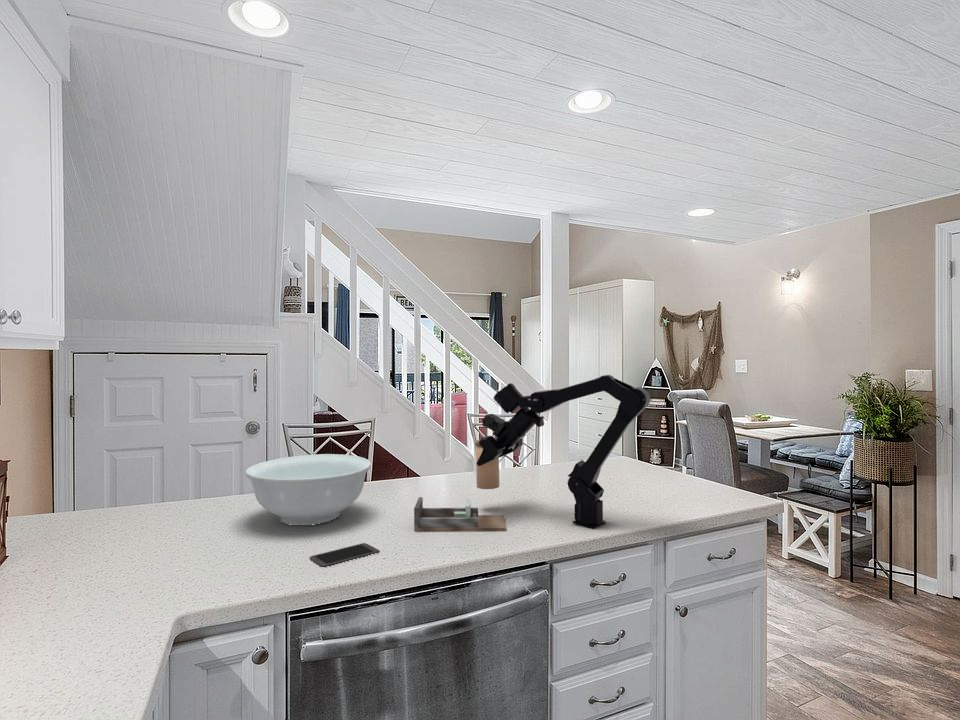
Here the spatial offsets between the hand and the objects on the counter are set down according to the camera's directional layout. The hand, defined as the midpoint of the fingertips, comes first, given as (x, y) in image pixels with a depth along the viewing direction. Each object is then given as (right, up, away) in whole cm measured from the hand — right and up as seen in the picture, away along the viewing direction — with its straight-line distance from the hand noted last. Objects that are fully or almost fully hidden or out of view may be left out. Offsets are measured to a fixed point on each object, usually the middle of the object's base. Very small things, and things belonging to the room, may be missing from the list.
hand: (483, 462), depth 155 cm
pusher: (-5, -12, -14) cm, 19 cm away
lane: (-6, -13, -14) cm, 20 cm away
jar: (+1, -7, -1) cm, 7 cm away
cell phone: (-31, -14, -35) cm, 49 cm away
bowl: (-47, -14, -7) cm, 50 cm away
